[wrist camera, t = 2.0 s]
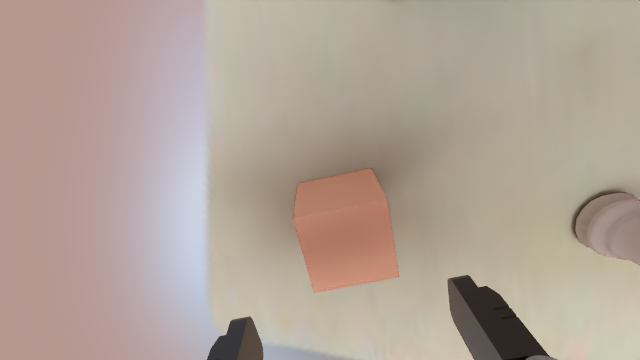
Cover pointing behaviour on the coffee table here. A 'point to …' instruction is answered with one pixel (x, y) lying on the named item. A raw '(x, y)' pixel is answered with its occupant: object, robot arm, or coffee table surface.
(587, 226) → the rook chess piece
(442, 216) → the coffee table surface
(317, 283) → the terracotta cube
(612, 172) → the coffee table surface
